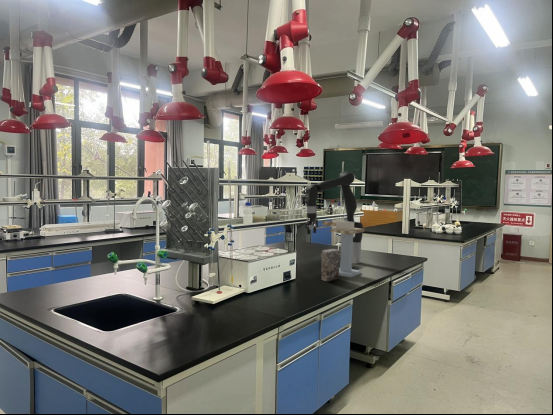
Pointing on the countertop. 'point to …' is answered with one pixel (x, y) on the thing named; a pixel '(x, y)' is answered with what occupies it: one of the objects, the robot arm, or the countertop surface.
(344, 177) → the robot arm
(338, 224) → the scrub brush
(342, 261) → the shelf stand
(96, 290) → the countertop surface
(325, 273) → the stone block
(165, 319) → the countertop surface
